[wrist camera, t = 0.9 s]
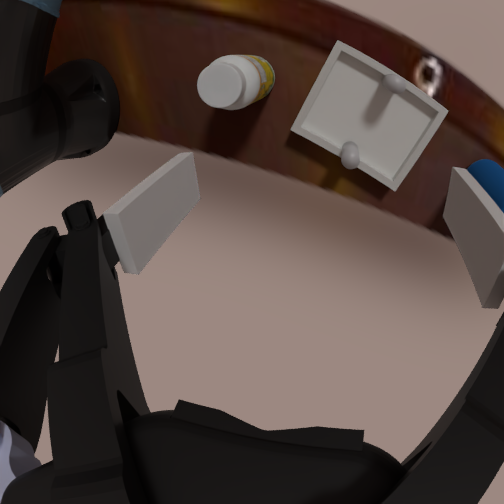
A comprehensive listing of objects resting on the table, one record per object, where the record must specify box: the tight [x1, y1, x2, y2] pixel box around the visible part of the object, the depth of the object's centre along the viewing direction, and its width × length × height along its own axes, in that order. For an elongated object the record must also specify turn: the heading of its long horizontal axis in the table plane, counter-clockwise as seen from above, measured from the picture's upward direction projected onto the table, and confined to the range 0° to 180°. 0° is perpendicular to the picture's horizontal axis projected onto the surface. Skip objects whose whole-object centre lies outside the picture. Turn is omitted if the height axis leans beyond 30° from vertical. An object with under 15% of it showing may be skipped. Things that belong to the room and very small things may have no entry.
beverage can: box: [467, 159, 504, 213], centre depth 24 cm, size 6×6×12 cm
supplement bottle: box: [197, 55, 275, 110], centre depth 26 cm, size 5×5×10 cm
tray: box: [291, 40, 448, 191], centre depth 27 cm, size 13×11×5 cm
